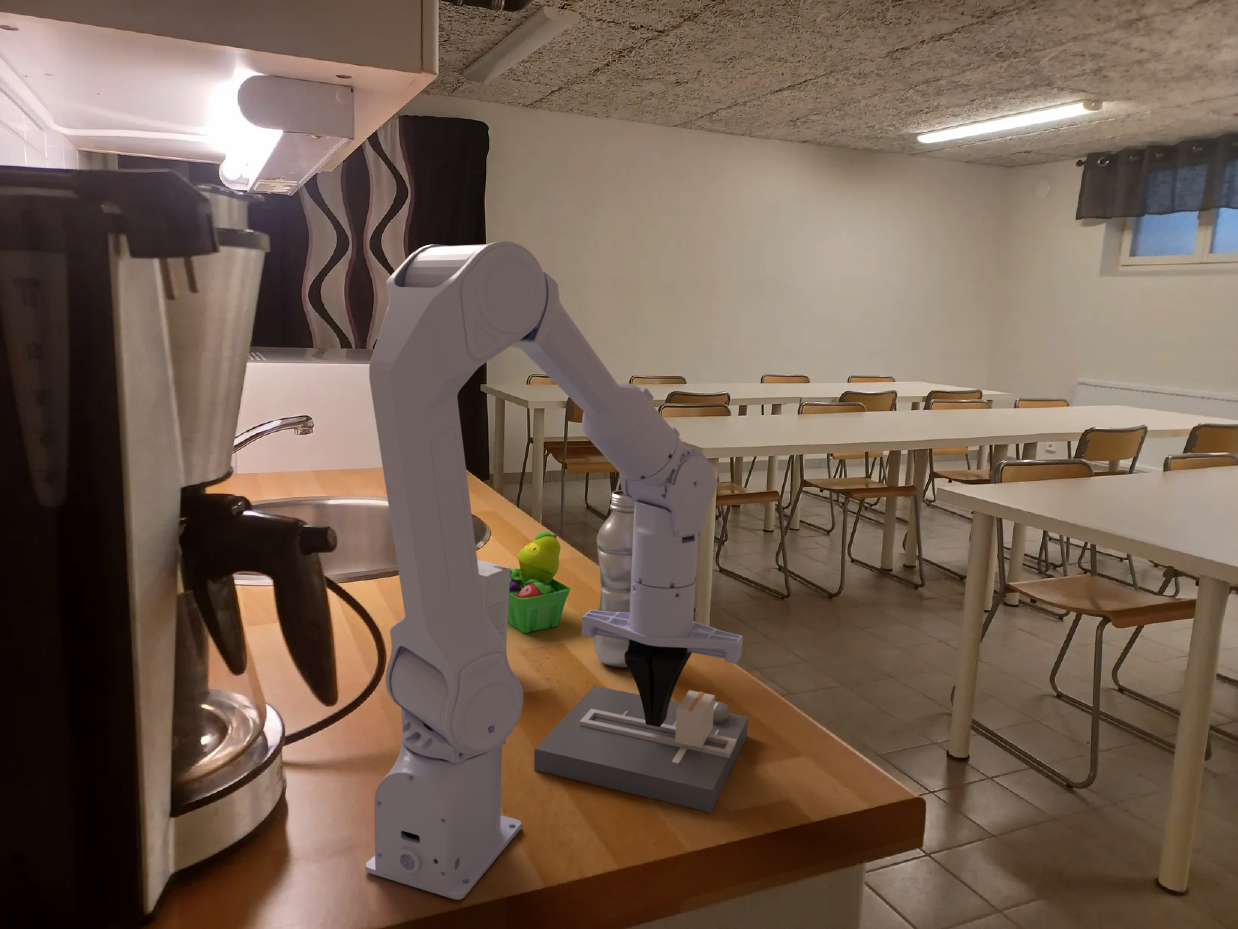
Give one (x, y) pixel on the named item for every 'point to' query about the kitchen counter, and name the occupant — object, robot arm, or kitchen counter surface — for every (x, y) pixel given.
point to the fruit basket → (536, 586)
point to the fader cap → (694, 718)
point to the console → (641, 750)
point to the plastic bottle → (615, 573)
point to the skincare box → (495, 594)
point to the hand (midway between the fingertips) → (655, 721)
